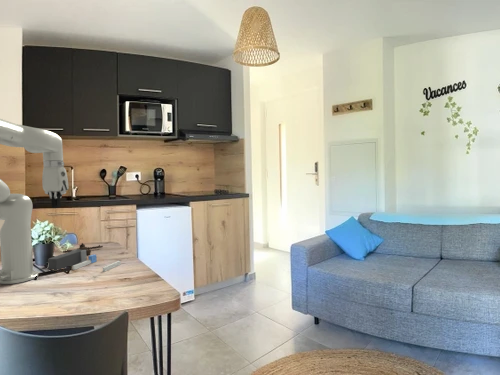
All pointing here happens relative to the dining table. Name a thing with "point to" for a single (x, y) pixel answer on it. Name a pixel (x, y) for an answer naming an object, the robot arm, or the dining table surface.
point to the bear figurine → (84, 248)
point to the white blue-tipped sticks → (93, 259)
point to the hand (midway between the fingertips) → (56, 207)
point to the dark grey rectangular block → (67, 259)
